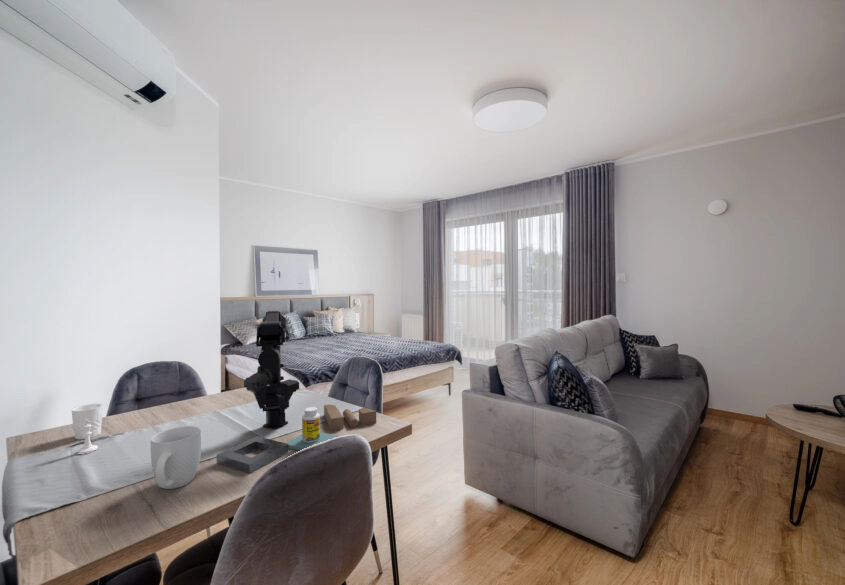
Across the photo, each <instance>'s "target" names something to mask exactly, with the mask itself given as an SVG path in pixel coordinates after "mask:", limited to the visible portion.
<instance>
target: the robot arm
mask: <svg viewBox="0 0 845 585" xmlns="http://www.w3.org/2000/svg"><path fill="white" fill-rule="evenodd" d="M258 325H259V326H257V328H256V338H255V339H256V341H255V342H256V344H255V347H257V348H258V347H260V353H259V354H258V356H257V362H258V364H259V365H258V366H257V370H256V372H255V373H253V374H251V375H250V376H248V377H246V378H245V379H244V380H243V387H244V388H246V391H248V392H249V391H250V392H251V393H253V396H254V398H255V400H256V402H257V405H258V407H259V409H260V410H261V409H262V412H263V413H264V412H265V421H266V422H265V423H264V424H262V427H264V428H268V429H274V430H275V429H278V428H280V427H283V426H284V425H287V424H288V423H289V421H286V410H288V408H290V400H291V398H292V396H293V395H294V393H296V392H297V391H298V390H300V382H299V380H295V379H291V378H289V379H286V380H285V378H284V376H282V371H281V368H284V366H285V365H284V363H282V362H281V359H282V358H281V346H284V343H285V342H286V332H287V318H286V317H285V316H284V315H283V314H282V312H281V311H279V310H270V311H269V310H268V311H266V312H265V316H264V317H263V318H262V321H261V322H260V323H259V324H258Z"/></svg>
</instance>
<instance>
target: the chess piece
mask: <svg viewBox="0 0 845 585" xmlns="http://www.w3.org/2000/svg"><path fill="white" fill-rule="evenodd" d="M90 422H91V421H88V419H87V420H86V422H83V424H86V425H85V426H83V429H84V431H85V433H83V435H85V439H84V442H83V443H84V444H83V446H82V447H81V448H79V449H78V450H76V453H77V452H78V453H86V452H90V451H94V450H96V449H97V448H98V449H99V446H98V445H96V444H95V445H93V444H92V441H91V438H90V436H89V434H91V433H92V432H90V428H91V425H89V424H88V423H90ZM96 451H97V450H96ZM94 452H95V451H94Z"/></svg>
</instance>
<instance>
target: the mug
mask: <svg viewBox="0 0 845 585" xmlns="http://www.w3.org/2000/svg"><path fill="white" fill-rule="evenodd" d="M201 433H202V432H201V428H200V427H199V426H197V425H184V426H183V425H182V426H175V427H172V428H167V429H164V430H161V431H160V432H157V433H155V434H154V435H152V436H151V438H150V461H151V462H150V463H151V468H152V473H153V475H154V478H155V480H156V484H157V486H158V487H160V488H162V489H165V490H174V489H179V488H181V487H184V486H186V485H187V484H189V483H191V481H192V480H193V479H194V477H195V476H196V473H197V471H198V469H199V465H200V462H201V455H202V434H201Z"/></svg>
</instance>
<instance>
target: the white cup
mask: <svg viewBox="0 0 845 585" xmlns="http://www.w3.org/2000/svg"><path fill="white" fill-rule="evenodd" d="M71 417H72V418H71V419H72V428H73V432H74V440H85V435H83V433H85V431H84V429H83V426H85V425H86V424H83V422H86V420H87V419H88V421H91V422H90V423H88V424H89V425H91V428H90V432H92V433H91V434H89V436H90V439H91V438H95V437H96V436H99V435H101V433H102V424H103V404H102V403H89V404H83V405H80V406H76V407H74V408H72V409H71Z"/></svg>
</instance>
